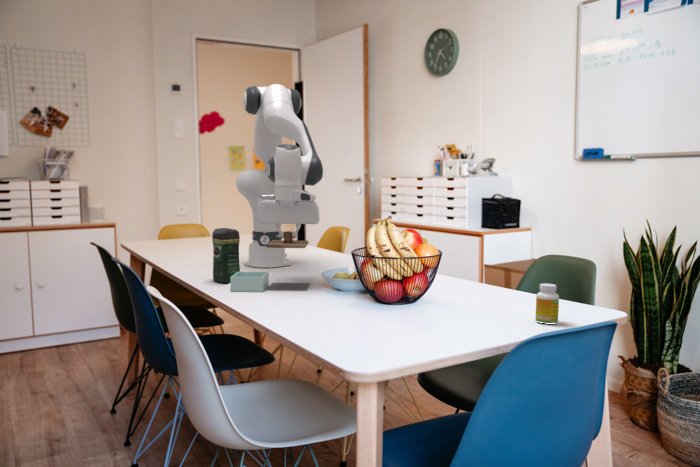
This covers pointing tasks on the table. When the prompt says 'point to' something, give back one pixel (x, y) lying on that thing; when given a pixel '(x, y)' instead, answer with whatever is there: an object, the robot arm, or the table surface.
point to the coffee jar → (225, 254)
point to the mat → (289, 286)
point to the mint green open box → (249, 281)
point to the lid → (287, 242)
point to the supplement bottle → (547, 304)
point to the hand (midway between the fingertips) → (288, 237)
